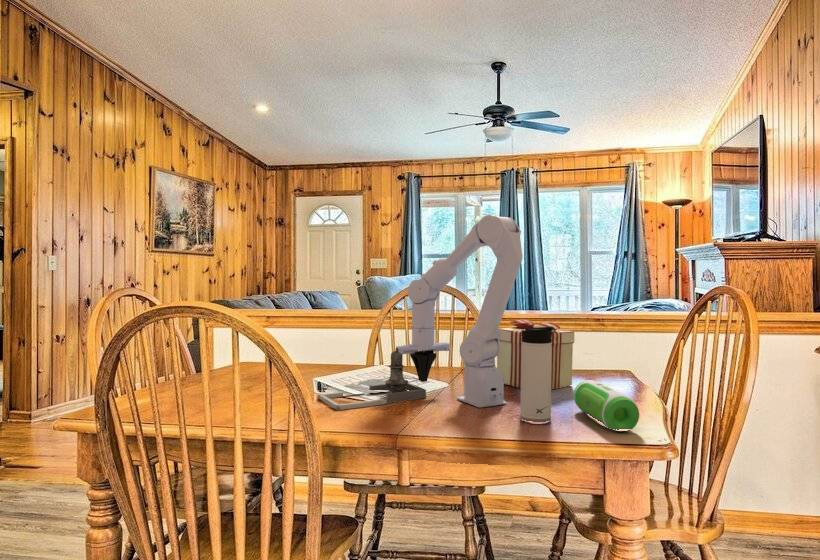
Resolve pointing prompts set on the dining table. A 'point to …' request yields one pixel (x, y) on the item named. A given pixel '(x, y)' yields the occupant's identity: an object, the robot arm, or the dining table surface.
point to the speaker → (606, 405)
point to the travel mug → (536, 374)
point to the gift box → (512, 354)
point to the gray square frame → (350, 405)
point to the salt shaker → (396, 374)
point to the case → (402, 393)
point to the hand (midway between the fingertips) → (422, 381)
